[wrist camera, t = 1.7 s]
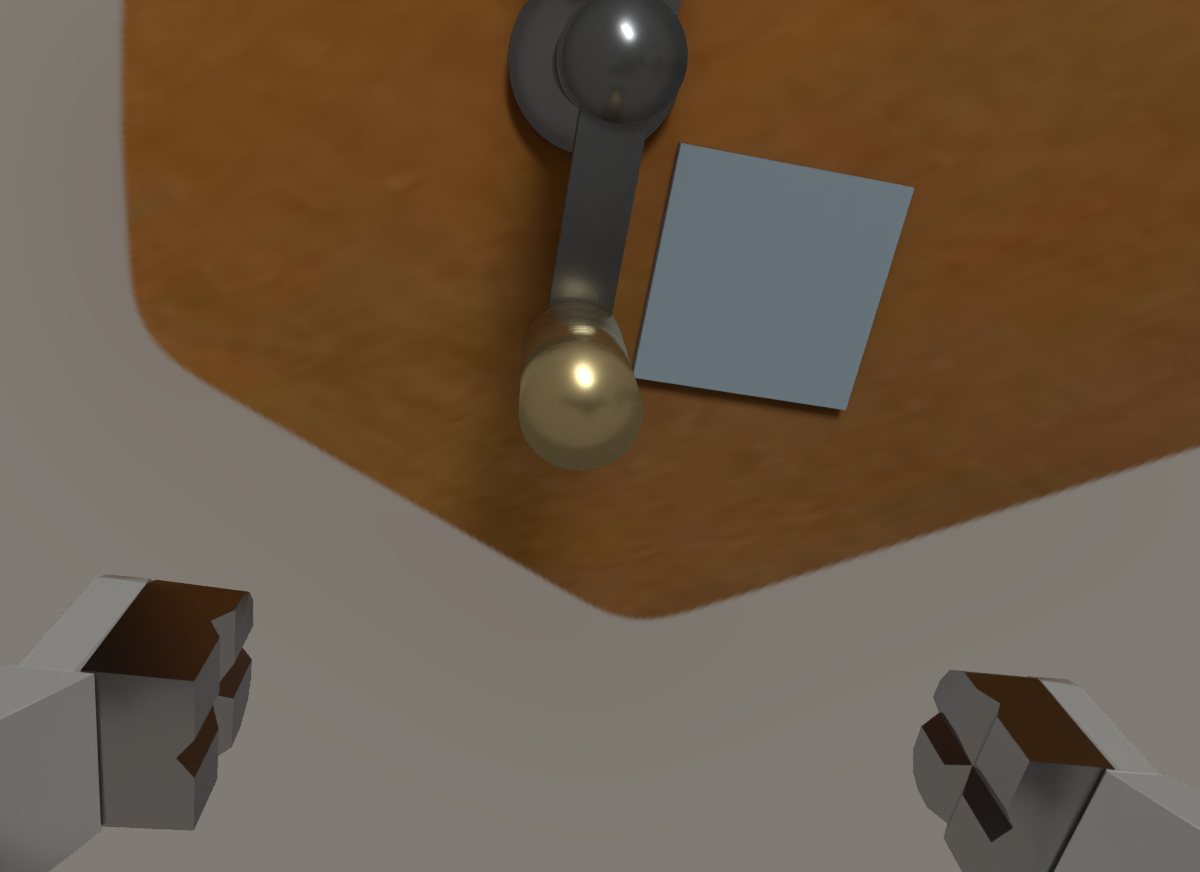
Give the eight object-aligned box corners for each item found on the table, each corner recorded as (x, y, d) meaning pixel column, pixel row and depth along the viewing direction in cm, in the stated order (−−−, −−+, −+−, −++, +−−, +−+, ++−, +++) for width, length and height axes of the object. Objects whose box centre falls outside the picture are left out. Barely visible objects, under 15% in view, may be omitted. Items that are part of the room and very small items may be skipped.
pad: (909, 186, 32) (914, 188, 32) (841, 406, 36) (845, 410, 35) (679, 142, 31) (680, 143, 31) (631, 373, 35) (632, 377, 34)
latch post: (695, -12, 29) (772, -56, 20) (660, 167, 32) (713, 207, 22) (522, -49, 29) (513, -114, 19) (497, 137, 31) (479, 165, 21)
